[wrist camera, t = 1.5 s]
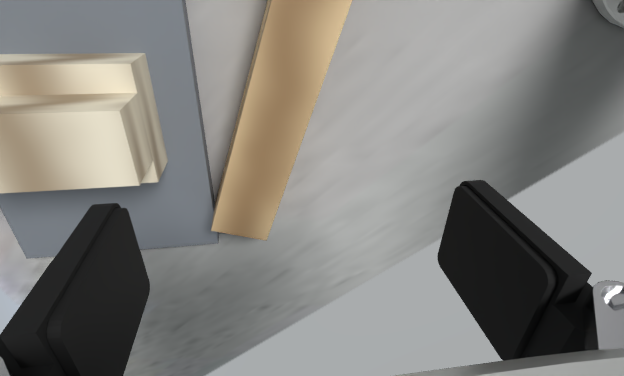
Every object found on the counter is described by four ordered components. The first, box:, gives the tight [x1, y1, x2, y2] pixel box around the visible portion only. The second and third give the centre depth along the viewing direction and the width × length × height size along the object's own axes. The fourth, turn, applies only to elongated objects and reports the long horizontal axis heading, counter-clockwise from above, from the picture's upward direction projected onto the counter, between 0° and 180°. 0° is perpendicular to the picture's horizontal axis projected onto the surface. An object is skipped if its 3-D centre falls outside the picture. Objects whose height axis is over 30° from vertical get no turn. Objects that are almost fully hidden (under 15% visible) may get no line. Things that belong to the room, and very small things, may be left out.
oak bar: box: [211, 0, 352, 240], centre depth 23 cm, size 4×20×4 cm, turn 160°
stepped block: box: [0, 53, 168, 193], centre depth 19 cm, size 9×7×6 cm
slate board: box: [0, 0, 219, 258], centre depth 22 cm, size 14×22×1 cm, turn 179°
